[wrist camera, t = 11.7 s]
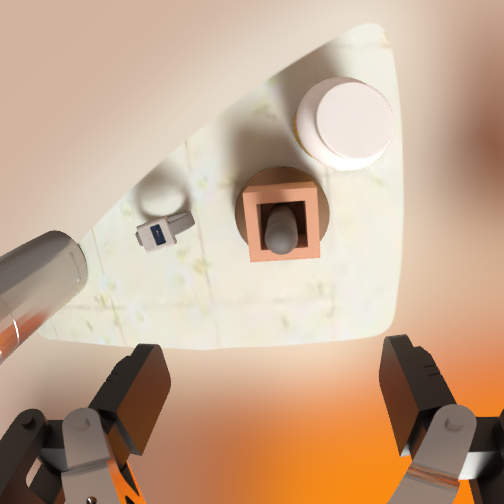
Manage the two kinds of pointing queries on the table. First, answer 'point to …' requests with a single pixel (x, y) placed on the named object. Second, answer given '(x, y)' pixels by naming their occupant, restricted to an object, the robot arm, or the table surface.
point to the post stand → (282, 211)
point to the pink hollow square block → (272, 194)
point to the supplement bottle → (343, 123)
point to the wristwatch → (163, 231)
